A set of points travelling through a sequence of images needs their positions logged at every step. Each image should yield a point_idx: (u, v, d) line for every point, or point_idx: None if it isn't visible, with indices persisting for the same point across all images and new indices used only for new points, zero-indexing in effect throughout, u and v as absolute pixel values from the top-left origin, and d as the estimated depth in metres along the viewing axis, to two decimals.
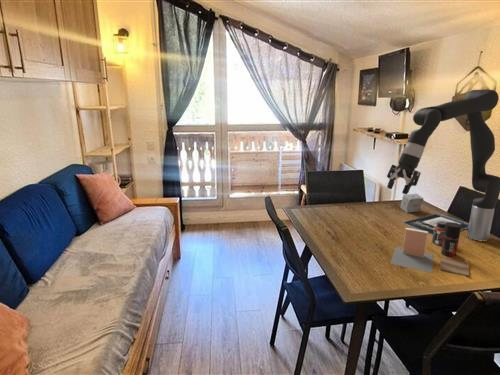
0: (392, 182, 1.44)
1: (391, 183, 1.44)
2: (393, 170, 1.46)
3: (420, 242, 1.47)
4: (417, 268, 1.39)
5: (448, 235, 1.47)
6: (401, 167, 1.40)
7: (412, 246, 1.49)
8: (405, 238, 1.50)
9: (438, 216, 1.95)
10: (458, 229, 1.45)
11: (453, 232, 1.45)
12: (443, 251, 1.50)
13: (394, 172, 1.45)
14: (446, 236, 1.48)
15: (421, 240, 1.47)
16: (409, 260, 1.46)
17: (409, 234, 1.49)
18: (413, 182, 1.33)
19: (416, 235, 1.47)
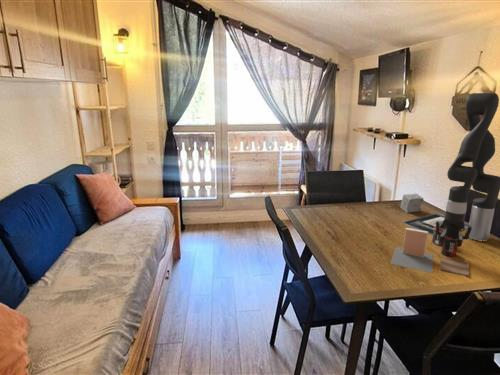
0: (443, 237, 1.50)
1: None
2: None
3: (420, 242, 1.47)
4: (417, 268, 1.39)
5: (448, 235, 1.47)
6: (450, 223, 1.46)
7: (412, 246, 1.49)
8: (405, 238, 1.50)
9: (438, 216, 1.95)
10: (458, 229, 1.45)
11: (453, 232, 1.45)
12: (443, 251, 1.50)
13: None
14: (446, 236, 1.48)
15: (421, 240, 1.47)
16: (409, 260, 1.46)
17: (409, 234, 1.49)
18: (467, 237, 1.45)
19: (416, 235, 1.47)
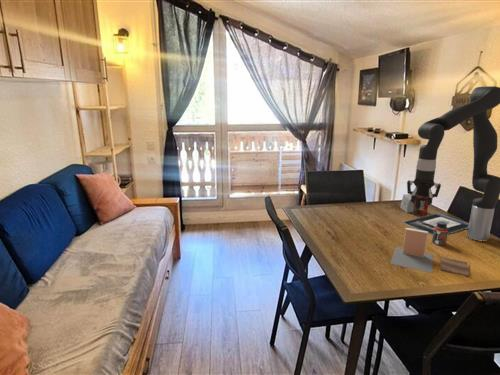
0: (414, 196, 1.53)
1: (414, 198, 1.53)
2: None
3: (420, 242, 1.47)
4: (417, 268, 1.39)
5: (418, 193, 1.49)
6: (420, 181, 1.49)
7: (412, 246, 1.49)
8: (405, 238, 1.50)
9: (438, 216, 1.95)
10: (428, 187, 1.47)
11: (423, 190, 1.48)
12: (414, 210, 1.53)
13: (410, 186, 1.54)
14: (416, 195, 1.51)
15: (421, 240, 1.47)
16: (409, 260, 1.46)
17: (409, 234, 1.49)
18: (437, 194, 1.47)
19: (416, 235, 1.47)
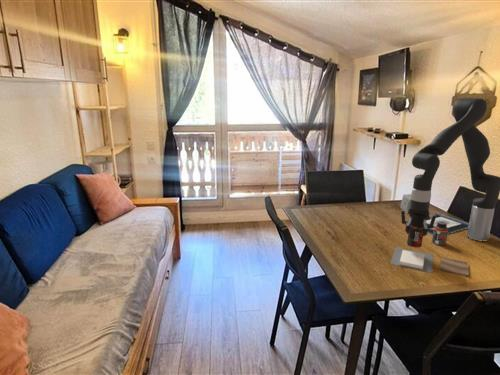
0: None
1: None
2: None
3: None
4: (417, 268, 1.39)
5: (413, 224, 1.45)
6: (415, 212, 1.45)
7: None
8: None
9: (438, 216, 1.95)
10: (422, 218, 1.43)
11: (417, 221, 1.43)
12: (409, 240, 1.48)
13: None
14: (411, 225, 1.46)
15: None
16: None
17: None
18: (432, 226, 1.43)
19: None
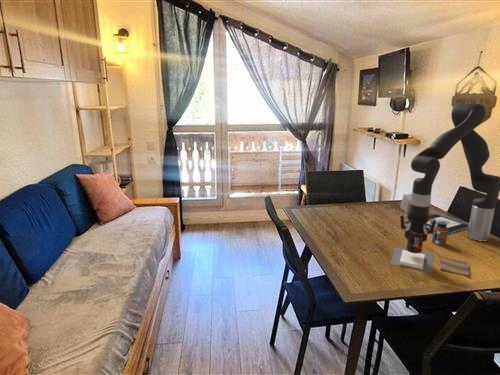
0: (408, 232, 1.44)
1: None
2: None
3: None
4: (417, 268, 1.39)
5: (412, 229, 1.40)
6: (414, 216, 1.40)
7: None
8: None
9: (438, 216, 1.95)
10: (422, 223, 1.38)
11: (417, 226, 1.39)
12: (408, 246, 1.43)
13: None
14: (410, 231, 1.41)
15: None
16: None
17: None
18: (432, 231, 1.38)
19: None
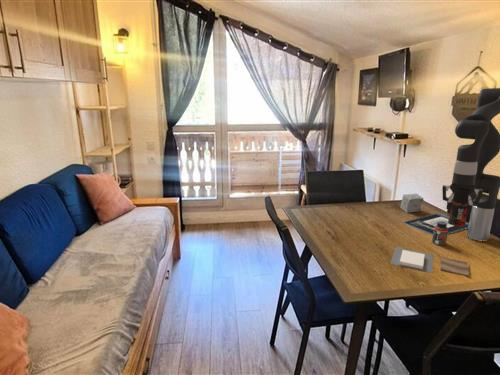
0: None
1: (450, 205, 1.35)
2: None
3: None
4: (417, 268, 1.39)
5: (456, 200, 1.31)
6: (458, 186, 1.31)
7: None
8: None
9: (438, 216, 1.95)
10: (467, 194, 1.29)
11: (461, 196, 1.30)
12: (450, 219, 1.34)
13: None
14: (453, 202, 1.32)
15: None
16: None
17: None
18: (478, 201, 1.29)
19: None
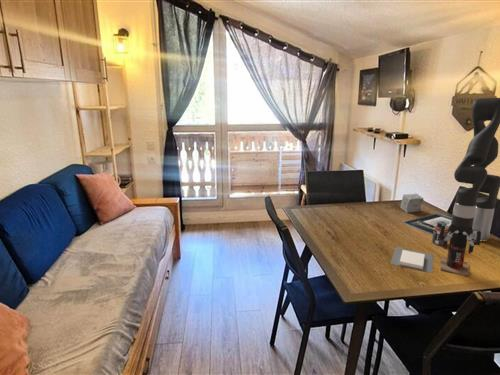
0: None
1: None
2: None
3: None
4: (417, 268, 1.39)
5: (454, 244, 1.35)
6: (457, 228, 1.35)
7: None
8: None
9: (438, 216, 1.95)
10: (465, 238, 1.33)
11: (459, 241, 1.34)
12: (449, 261, 1.39)
13: None
14: (451, 246, 1.36)
15: None
16: None
17: None
18: (479, 242, 1.32)
19: None
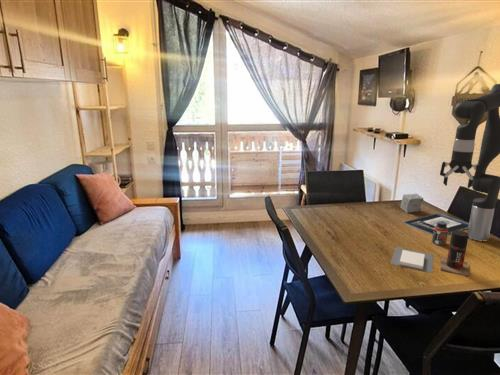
0: (447, 178, 1.45)
1: None
2: None
3: None
4: (417, 268, 1.39)
5: (454, 244, 1.35)
6: (457, 163, 1.41)
7: None
8: None
9: (438, 216, 1.95)
10: (465, 238, 1.33)
11: (460, 241, 1.34)
12: (449, 261, 1.39)
13: None
14: (452, 246, 1.36)
15: None
16: None
17: None
18: (478, 176, 1.39)
19: None
